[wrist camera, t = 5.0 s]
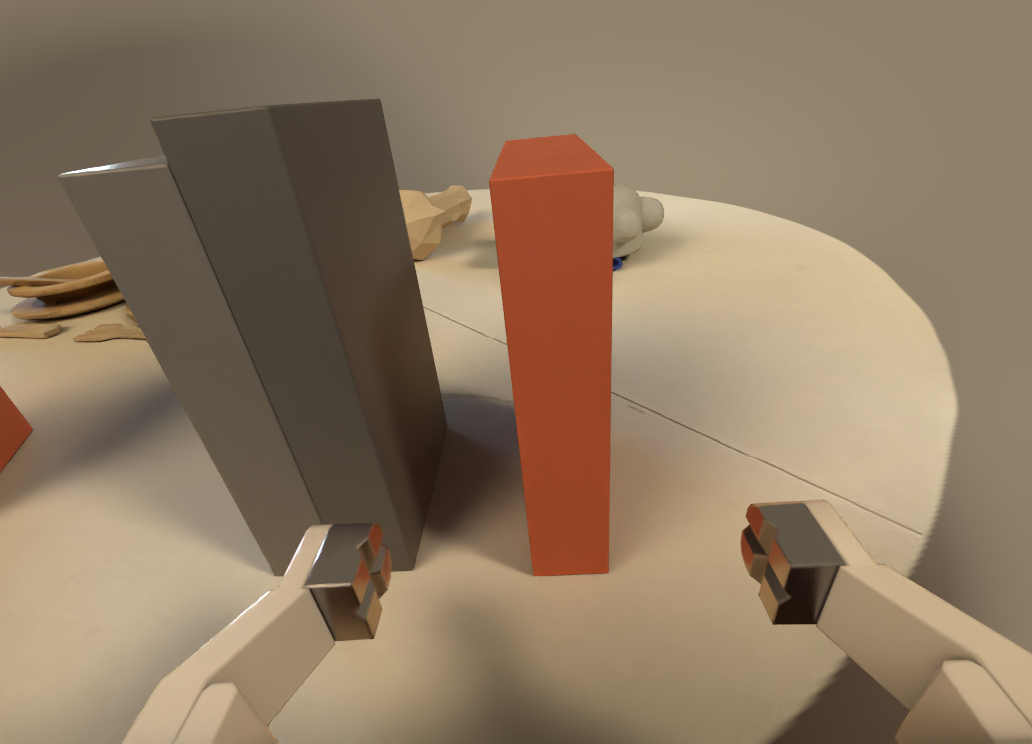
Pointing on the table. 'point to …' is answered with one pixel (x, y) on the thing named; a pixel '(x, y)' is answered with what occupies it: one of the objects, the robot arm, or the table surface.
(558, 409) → the terracotta book
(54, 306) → the tableware set
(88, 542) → the table surface
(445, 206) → the faceted club
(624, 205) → the figurine
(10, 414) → the matching books
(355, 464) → the grey books
